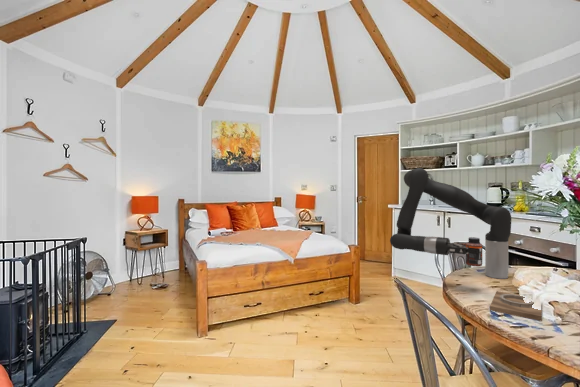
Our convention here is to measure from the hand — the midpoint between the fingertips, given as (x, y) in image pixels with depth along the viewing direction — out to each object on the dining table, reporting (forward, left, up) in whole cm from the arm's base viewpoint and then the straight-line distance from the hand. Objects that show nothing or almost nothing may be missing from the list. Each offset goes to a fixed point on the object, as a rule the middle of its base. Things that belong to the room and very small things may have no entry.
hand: (480, 250), depth 127 cm
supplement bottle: (0, -2, -7) cm, 7 cm away
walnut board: (+10, +12, -17) cm, 23 cm away
